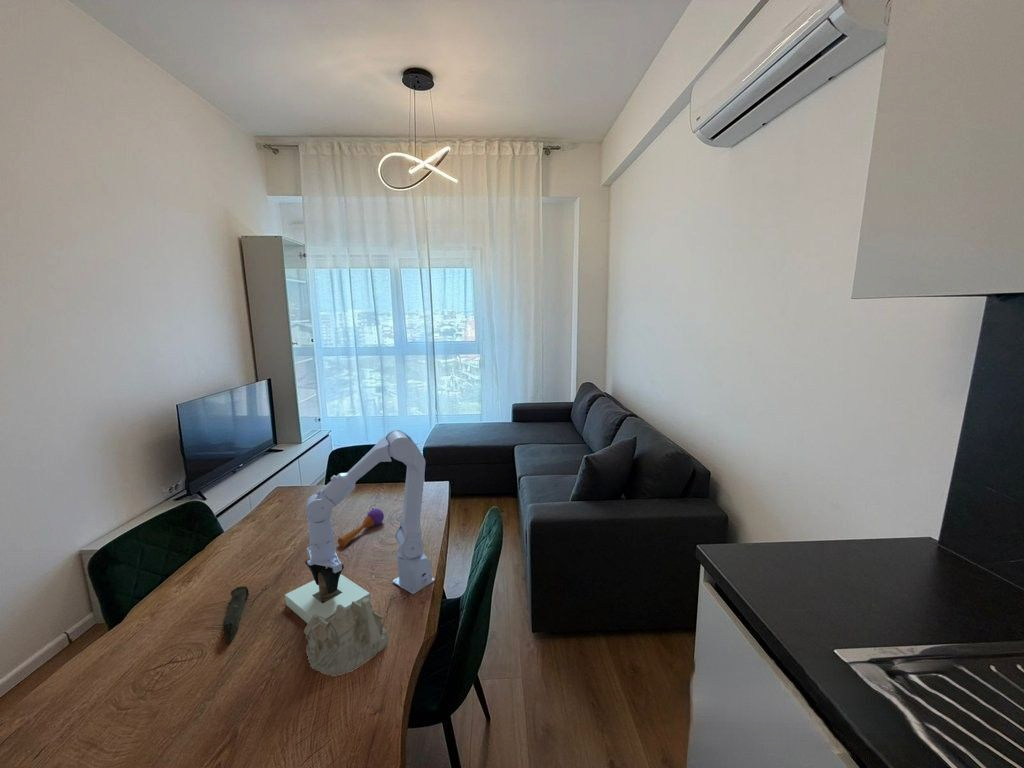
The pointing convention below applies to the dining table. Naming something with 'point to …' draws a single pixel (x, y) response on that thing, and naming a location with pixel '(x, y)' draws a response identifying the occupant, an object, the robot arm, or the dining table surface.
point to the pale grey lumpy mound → (344, 638)
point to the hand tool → (234, 612)
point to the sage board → (309, 598)
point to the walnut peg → (324, 590)
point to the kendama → (363, 526)
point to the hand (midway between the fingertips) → (326, 587)
